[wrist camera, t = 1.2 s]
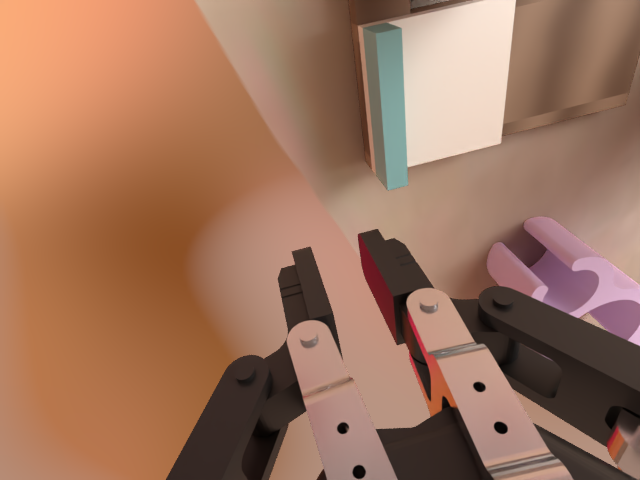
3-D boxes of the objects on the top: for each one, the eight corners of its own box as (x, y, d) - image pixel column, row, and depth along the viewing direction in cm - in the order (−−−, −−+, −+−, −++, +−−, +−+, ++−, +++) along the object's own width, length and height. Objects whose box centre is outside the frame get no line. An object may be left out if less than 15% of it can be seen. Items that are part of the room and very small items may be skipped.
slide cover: (507, -8, 26) (543, -5, 23) (493, 138, 32) (520, 156, 29) (357, 25, 25) (376, 33, 22) (371, 169, 31) (387, 190, 28)
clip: (458, 269, 42) (495, 317, 36) (564, 189, 39) (623, 227, 33) (529, 347, 53) (567, 392, 47) (617, 288, 50) (668, 330, 44)
